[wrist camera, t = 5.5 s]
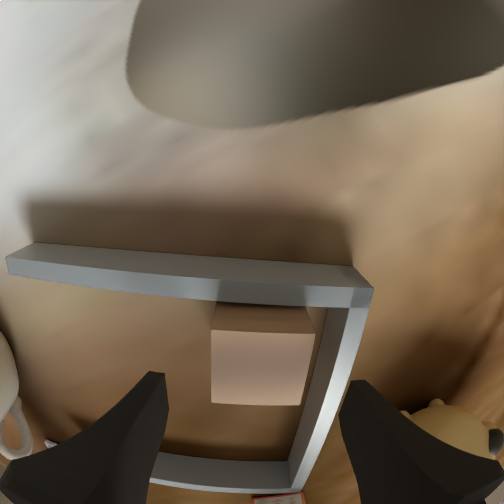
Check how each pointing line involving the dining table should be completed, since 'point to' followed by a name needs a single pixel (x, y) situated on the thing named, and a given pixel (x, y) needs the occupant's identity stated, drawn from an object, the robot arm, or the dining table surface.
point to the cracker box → (281, 499)
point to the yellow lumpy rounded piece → (459, 428)
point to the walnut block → (260, 353)
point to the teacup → (12, 403)
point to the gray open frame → (241, 291)
